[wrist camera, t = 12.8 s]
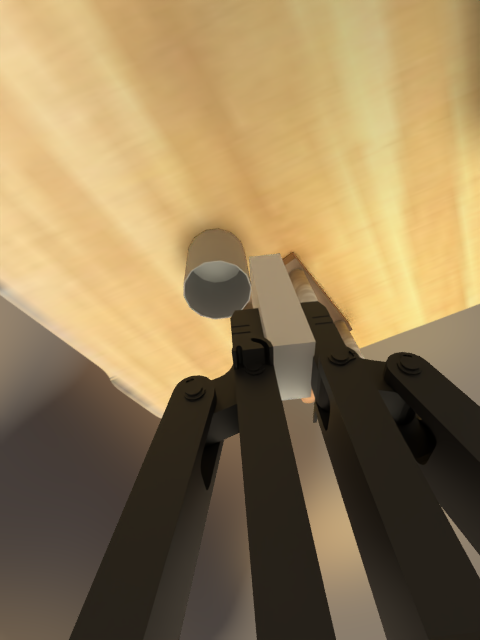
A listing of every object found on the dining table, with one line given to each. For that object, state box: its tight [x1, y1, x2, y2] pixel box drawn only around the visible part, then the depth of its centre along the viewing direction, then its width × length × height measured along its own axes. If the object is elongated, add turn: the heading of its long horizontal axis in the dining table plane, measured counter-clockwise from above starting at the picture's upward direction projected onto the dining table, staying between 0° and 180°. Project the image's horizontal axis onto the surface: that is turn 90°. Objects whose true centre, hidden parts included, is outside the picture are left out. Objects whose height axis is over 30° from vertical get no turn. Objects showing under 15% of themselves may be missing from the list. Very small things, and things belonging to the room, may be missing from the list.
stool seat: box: [243, 252, 365, 359], centre depth 49 cm, size 12×18×11 cm
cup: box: [184, 229, 251, 319], centre depth 43 cm, size 8×8×10 cm
